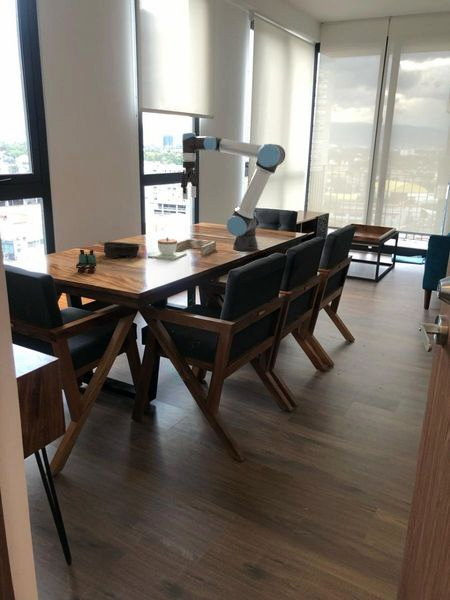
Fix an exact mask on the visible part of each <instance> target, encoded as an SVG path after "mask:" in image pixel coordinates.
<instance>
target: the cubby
mask: <svg viewBox="0 0 450 600" xmlns="http://www.w3.org/2000/svg"><path fill="white" fill-rule="evenodd" d="M216 244H217V241H214V240H205V239H193V238H185V239H183V240H179V241H177V248H176V251H175V252H182V251H183V250H186V249H188V248H191V249H199V250H200V256H201V257H202V256H206V255H208V254H210V253H212V252H214V251H216V250H217V249H216V246H217V245H216Z"/></svg>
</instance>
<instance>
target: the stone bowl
mask: <svg viewBox="0 0 450 600" xmlns="http://www.w3.org/2000/svg"><path fill="white" fill-rule="evenodd" d="M98 243H99V245H101V246H103V252H104V254H105V255H104V256H105V257H106V258H108V257H109V259H117V258H121V257H122V256H125V257H126V258H129V259H130V258H134V257H137V255H138V253H139V250H140V248H141V247H144V246H145V244H144V243H139V242H131V241H130V242H127V241H102V242H100V241H98Z"/></svg>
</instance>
